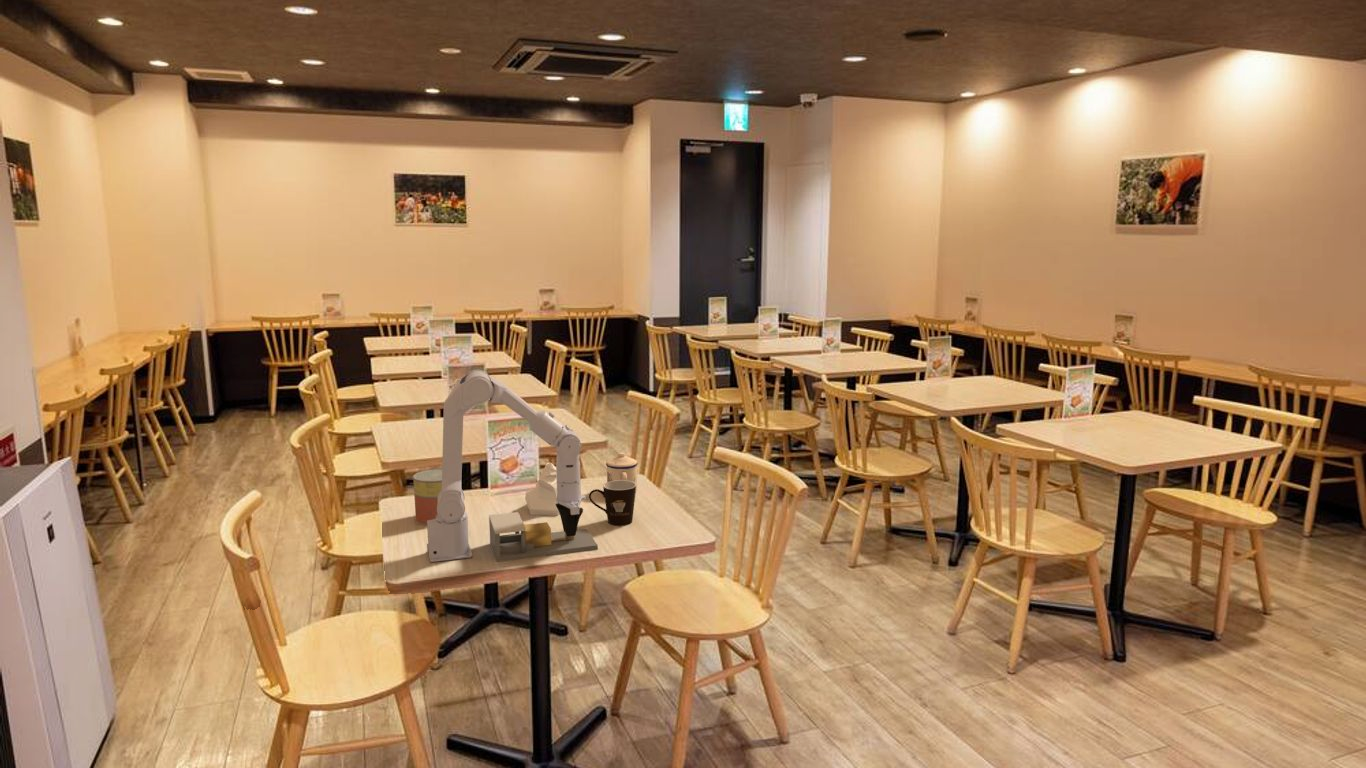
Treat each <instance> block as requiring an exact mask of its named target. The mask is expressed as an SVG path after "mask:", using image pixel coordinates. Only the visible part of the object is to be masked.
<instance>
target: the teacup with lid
mask: <svg viewBox="0 0 1366 768" xmlns="http://www.w3.org/2000/svg"><path fill="white" fill-rule="evenodd" d="M605 465H606V482H609V481H615V480H627V481H632V482H634V483H636V492H635V494H636V493H637V491H638V486H637V485H638V481H637V480H638V477H637V476H638V475H637V474H638V472H637V470H638V468H637V467H638V461H637V459H634V458H632V457H630V456H628V455H626V453H625V452H618V455H616V456H614V457H613V458H610V459H608V460H606V463H605Z"/></svg>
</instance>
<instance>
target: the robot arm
mask: <svg viewBox="0 0 1366 768" xmlns="http://www.w3.org/2000/svg"><path fill="white" fill-rule="evenodd" d="M487 401H490V403H491V404H503V405H505V406H506V407H508V408H509V409H510V410H511V411H513V412H514V413H515V414H517V415H518V416H520V417H521V418H523V419H524V420H525V421H527V422H528V427H529V430H530V431H531V432H532V433H534V434H535V436H538V437H539V438H540V439H541V440H543V442H545V443H546V444H548V445H549V446H552V447H554V448H555V449H556V463H555V467H556V476H557V498H556V502H557V504H556V507H557V509H558V511H559V513H560V515H559V516H560V520H561V525H562V528H563V531H564V532H566V535H567V537H568V536H575V535H576V531H577V530H578V526H579V522H580V518H581V517H582V514H583V513H584V509H583V507H580V505H581V504H582V501H585V500H586V499H587V498H586V495H585V494H581V493H582V492H581V489H582V488H581V486H582V485H581V484H582V483H581V461H580V458H581V457H580V456H581V455H580V454H581V452H582V448H583V446H582V443H581V441H580V439H579V437H578V435H577V433H576V432H575V431H574V430H573V429H571V428H570V426H568V425H567V424H566V425H564V424H563V423H561V422H560V421H559V420H558V419H557V418H555V416H556V415H555V414H554V413H553V412H551V411H549V412H547V411H546V410H536V409H535V408H534V407H532V406H531V405H530V404H529V403H528V402H526V401H525V400H524V399H523V398H522V397H520V396H519V395H518V394H517V393H516V392H515V391H513V389H511V388H510V387H509V386H508V385H506V384H505V383H503V382H502V381H500V380H499V379H497V378H496V377H495V376H494V377H493V376H491V377H490V375H489V373H488V372H486V371H484V370H481V369H474V370H471V371H469V372H468V373H466V374H465V375H463V376H461V378H459V381H458V382H457V384H456V385H455V386H454V388H453V389H452V390H451V392H450V393H449V394H448V396H447V398H445V400H444V403H443V415H442V416H443V420H442V425H443V426H442V455H441V456H442V459H441V461H442V463H441V466H442V467H441V469H442V487H441V490H440V491H439V493H438V496H437V501H438V505H437V515H436V518H435V519H432V520H428V521H427V526H426V529H427V543H426V551H427V552H428V556H429V562H431V563H435V562H443V561H451V560H459V559H469V558H472V557H473V553H472V550H471V547H470V542H469V541H470V540H469V527H468V526H469V525H468V518H469V517H468V513H467V512H466V505H465V497H466V496H465V492H464V490H463V489H462V478H463V477H462V473H463V472H462V470H463V469H462V468H463V444H464V443H463V440H464V439H463V438H464V414H466V413H467V412H468V411H469V410H471V409H472V408H473V407H475V406H478V405H481V404H484V403H485V402H487Z"/></svg>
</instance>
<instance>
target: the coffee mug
mask: <svg viewBox="0 0 1366 768" xmlns="http://www.w3.org/2000/svg"><path fill="white" fill-rule="evenodd" d="M602 485H603V486H602V488H603V490H601V489H597V488H596V489H593V490H591V491H590V492H589V495H588V499H589V501H590V502H591V503H592V504H593V505H594V506H595V507H596V508H598V509H599V510H602V511H603V512H605V514H606V517H607V523H608V524H609V525H611V526H615V527H623V526H628V525H631V524H632V523H633V518H634V510H635V501H636V500H635V499H636V493H637V491H636V483H634V482H632V481H627V480H615V481H609V482H607V481H605V483H603V484H602ZM635 492H636V493H635ZM594 493H599V494H601V495H602V497H603V498H604V502H605V508H604V507H602V506H601V505H600V504H597V502H595V501H594V500H593V499H592V494H594Z"/></svg>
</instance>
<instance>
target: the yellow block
mask: <svg viewBox="0 0 1366 768" xmlns="http://www.w3.org/2000/svg"><path fill="white" fill-rule="evenodd" d="M524 526H525V528H526V531H525V540H526V543H531V542H533V544H534V547H538V546H546V545H551V541H558V540H573V539H574V536H568V537H567V535H566V532H565V537H564V538H556V539H551V533H552V528H551V527H550V525H549V523H548V522H538V523H530V524H524Z"/></svg>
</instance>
